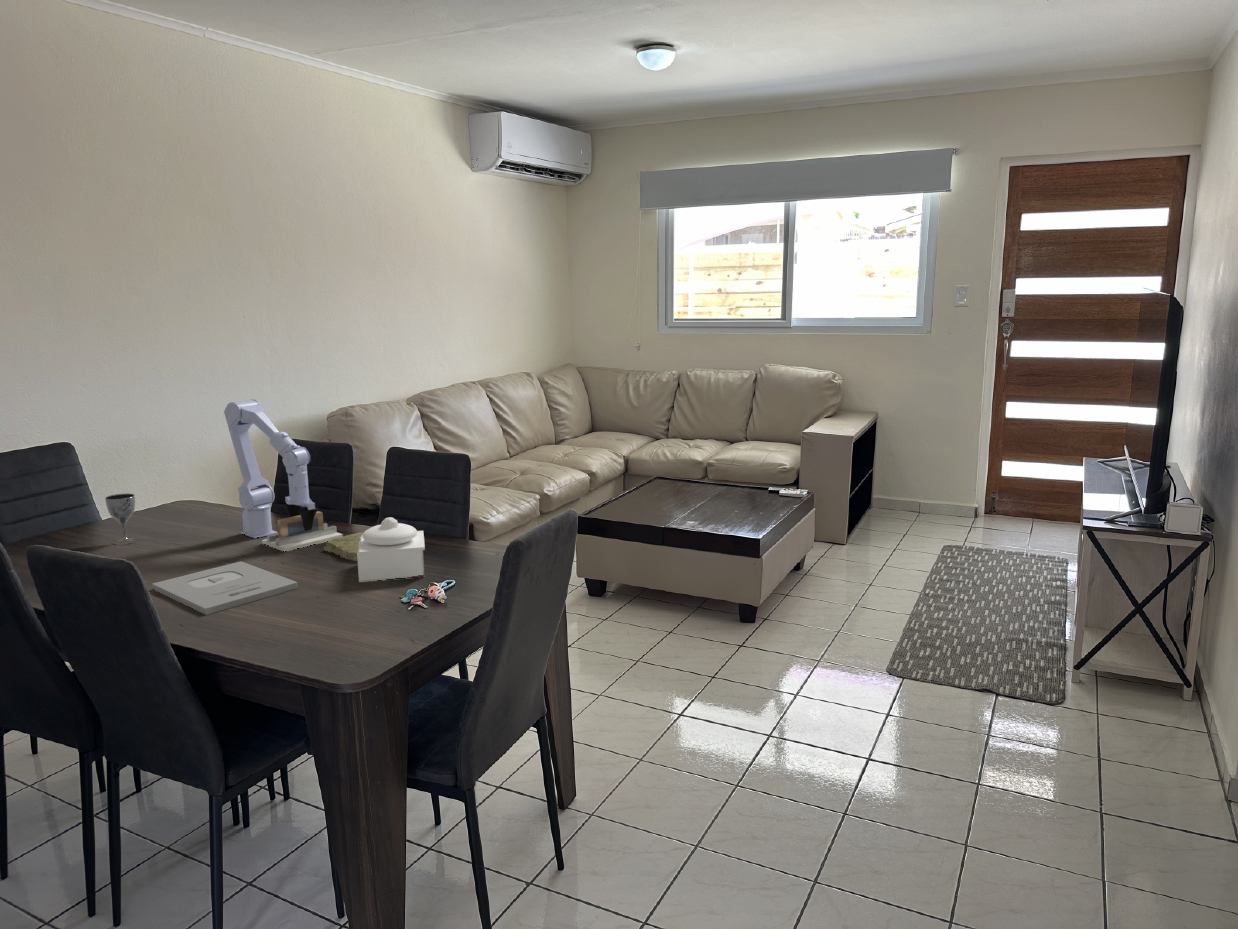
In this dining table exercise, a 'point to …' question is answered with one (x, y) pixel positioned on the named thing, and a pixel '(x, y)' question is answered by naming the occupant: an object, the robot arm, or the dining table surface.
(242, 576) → the award plaque
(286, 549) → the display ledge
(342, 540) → the mossy green slab
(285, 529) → the tan wooden frame
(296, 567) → the dining table surface
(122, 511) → the wine glass
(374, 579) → the butter dish
